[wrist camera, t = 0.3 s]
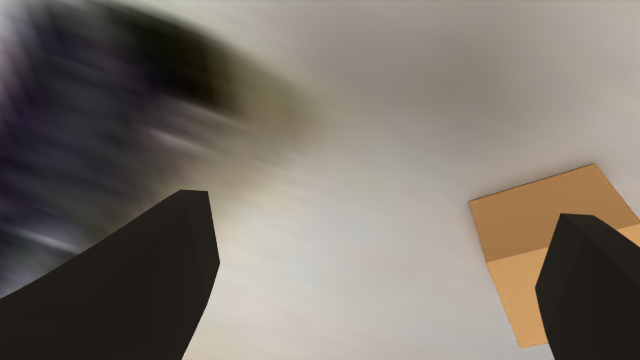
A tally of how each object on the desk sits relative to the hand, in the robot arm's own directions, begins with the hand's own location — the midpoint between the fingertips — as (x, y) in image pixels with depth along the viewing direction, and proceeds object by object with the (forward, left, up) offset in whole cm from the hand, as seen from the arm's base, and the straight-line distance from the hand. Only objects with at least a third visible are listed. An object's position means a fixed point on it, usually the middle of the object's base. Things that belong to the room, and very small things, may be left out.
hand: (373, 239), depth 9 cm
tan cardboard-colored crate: (-9, -4, -10) cm, 14 cm away
